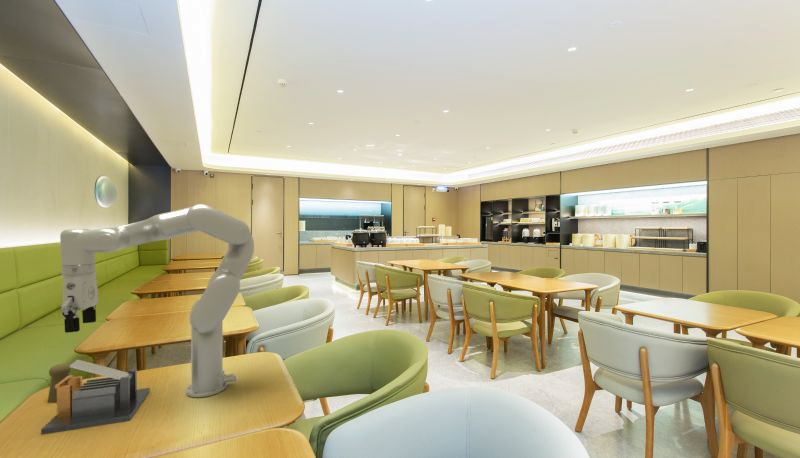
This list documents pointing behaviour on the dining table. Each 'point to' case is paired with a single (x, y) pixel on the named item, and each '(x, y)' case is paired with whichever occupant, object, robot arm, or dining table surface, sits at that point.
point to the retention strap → (99, 370)
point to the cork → (57, 379)
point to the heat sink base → (105, 418)
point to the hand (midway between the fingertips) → (81, 326)
